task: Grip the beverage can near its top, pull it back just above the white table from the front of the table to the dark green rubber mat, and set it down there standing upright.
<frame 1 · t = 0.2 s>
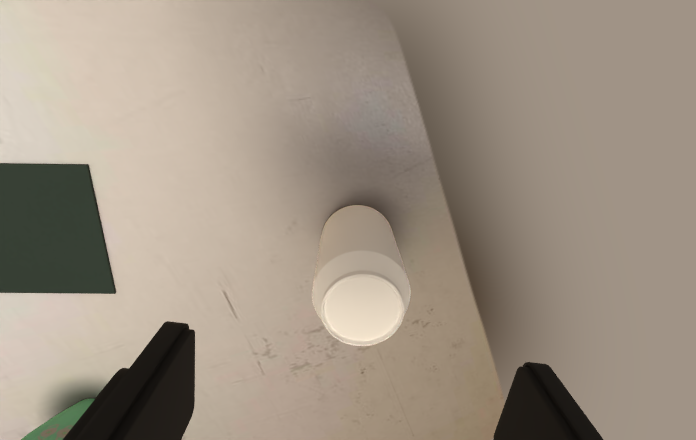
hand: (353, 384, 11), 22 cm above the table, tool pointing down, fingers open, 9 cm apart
mug: (120, 422, 41), on the table
beverage can: (356, 234, 33), on the table
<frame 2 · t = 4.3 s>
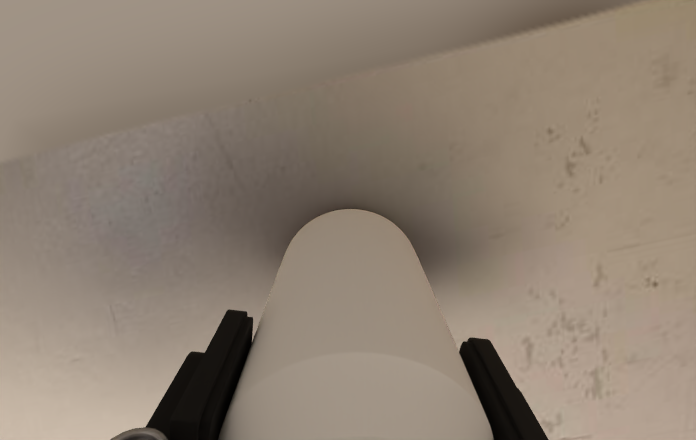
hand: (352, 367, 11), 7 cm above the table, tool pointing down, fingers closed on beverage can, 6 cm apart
beverage can: (349, 262, 18), on the table, touching gripper
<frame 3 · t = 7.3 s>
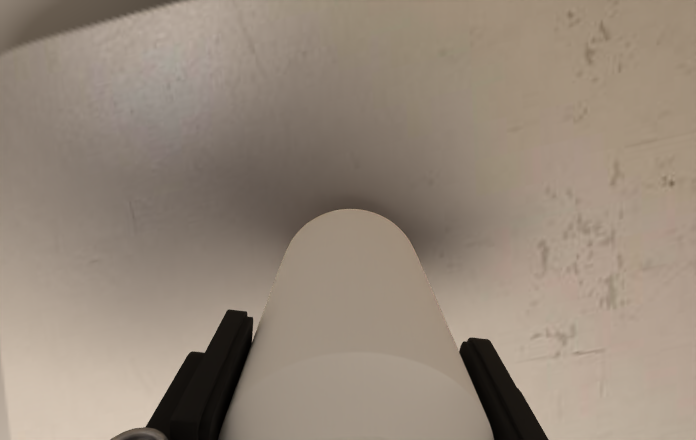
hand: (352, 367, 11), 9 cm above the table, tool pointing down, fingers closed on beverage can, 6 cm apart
beverage can: (349, 262, 18), point 2 cm above the table, touching gripper
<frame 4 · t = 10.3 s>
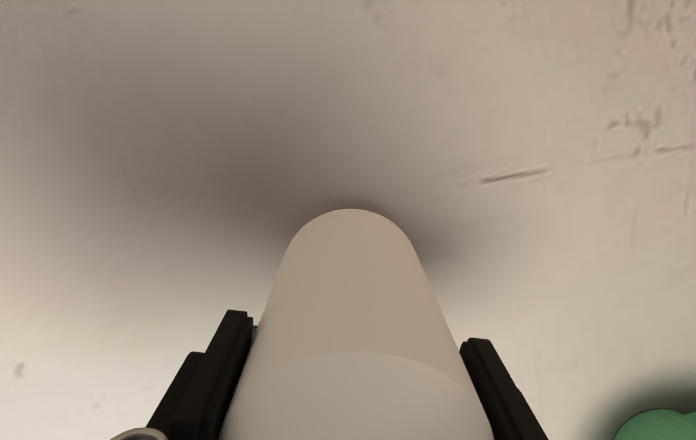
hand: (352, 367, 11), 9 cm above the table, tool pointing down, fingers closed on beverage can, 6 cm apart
mug: (680, 411, 24), on the table
beverage can: (349, 262, 18), point 2 cm above the table, touching gripper
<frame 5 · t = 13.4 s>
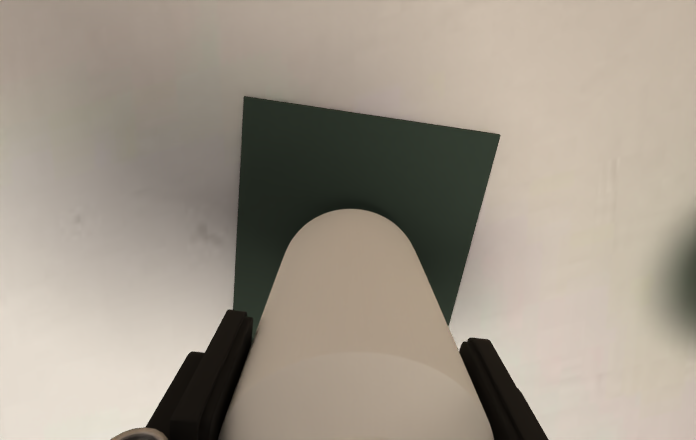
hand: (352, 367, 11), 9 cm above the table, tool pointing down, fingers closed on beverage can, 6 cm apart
beverage can: (349, 262, 18), point 2 cm above the table, touching gripper
mat: (344, 301, 21), on the table
when the fingers open (7 cm above the table, at t = 16.2 s): beverage can stays where it is, resting on mat.
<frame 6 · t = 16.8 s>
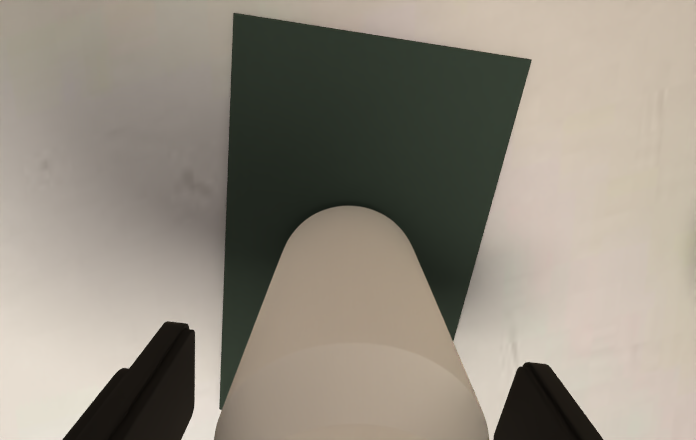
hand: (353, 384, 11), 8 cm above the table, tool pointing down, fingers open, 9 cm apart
beverage can: (348, 259, 18), resting on mat
mat: (350, 261, 18), on the table
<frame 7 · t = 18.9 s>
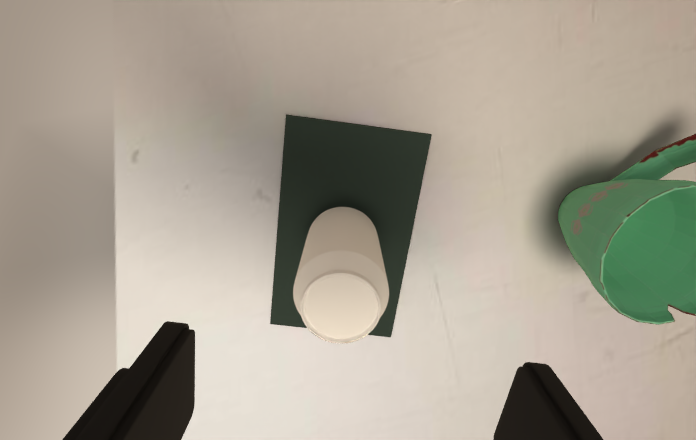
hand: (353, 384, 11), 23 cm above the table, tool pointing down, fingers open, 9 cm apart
mug: (604, 189, 33), on the table
beverage can: (342, 235, 34), resting on mat
mat: (343, 236, 34), on the table
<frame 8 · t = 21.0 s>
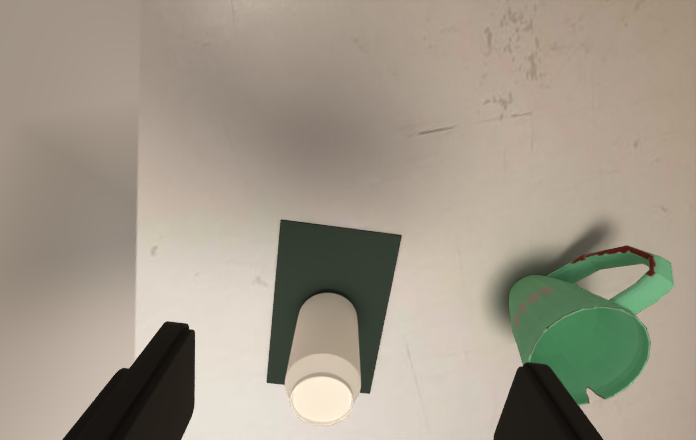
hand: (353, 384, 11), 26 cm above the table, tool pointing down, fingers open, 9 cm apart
mug: (547, 277, 40), on the table
beverage can: (328, 312, 41), resting on mat
mat: (329, 313, 41), on the table
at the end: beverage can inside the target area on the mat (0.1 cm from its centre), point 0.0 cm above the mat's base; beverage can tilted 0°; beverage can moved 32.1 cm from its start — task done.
